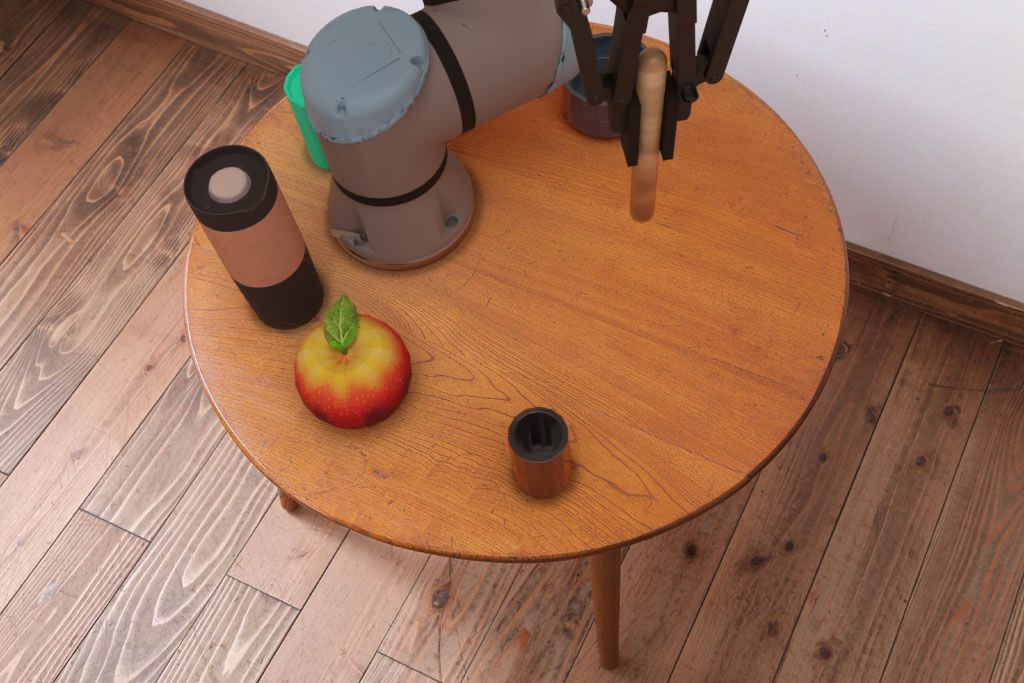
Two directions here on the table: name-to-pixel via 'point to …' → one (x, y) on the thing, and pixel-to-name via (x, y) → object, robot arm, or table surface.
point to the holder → (540, 452)
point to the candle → (303, 117)
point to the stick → (648, 132)
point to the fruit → (352, 368)
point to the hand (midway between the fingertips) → (646, 148)
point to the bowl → (575, 100)
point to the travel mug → (254, 234)
